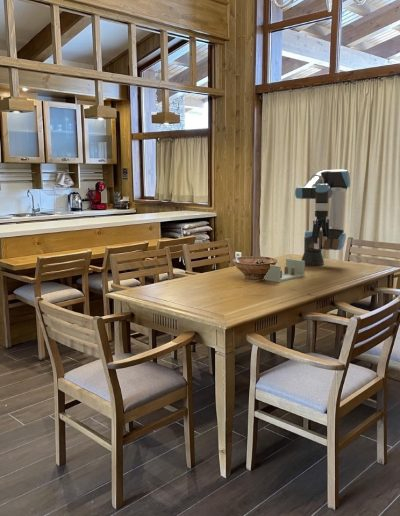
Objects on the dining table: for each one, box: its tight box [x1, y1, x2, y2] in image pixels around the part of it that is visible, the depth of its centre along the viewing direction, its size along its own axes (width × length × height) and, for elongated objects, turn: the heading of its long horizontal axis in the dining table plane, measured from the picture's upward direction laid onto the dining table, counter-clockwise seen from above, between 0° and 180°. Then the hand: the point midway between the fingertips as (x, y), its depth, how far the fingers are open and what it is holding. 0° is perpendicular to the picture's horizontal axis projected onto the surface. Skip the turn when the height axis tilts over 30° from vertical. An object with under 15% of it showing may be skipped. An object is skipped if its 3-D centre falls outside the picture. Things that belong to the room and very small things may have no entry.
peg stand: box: [263, 257, 306, 283], centre depth 294 cm, size 25×13×9 cm, turn 133°
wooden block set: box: [309, 232, 339, 251], centre depth 296 cm, size 18×9×10 cm, turn 59°
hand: (320, 247), depth 295 cm, fingers closed on wooden block set, 8 cm apart
